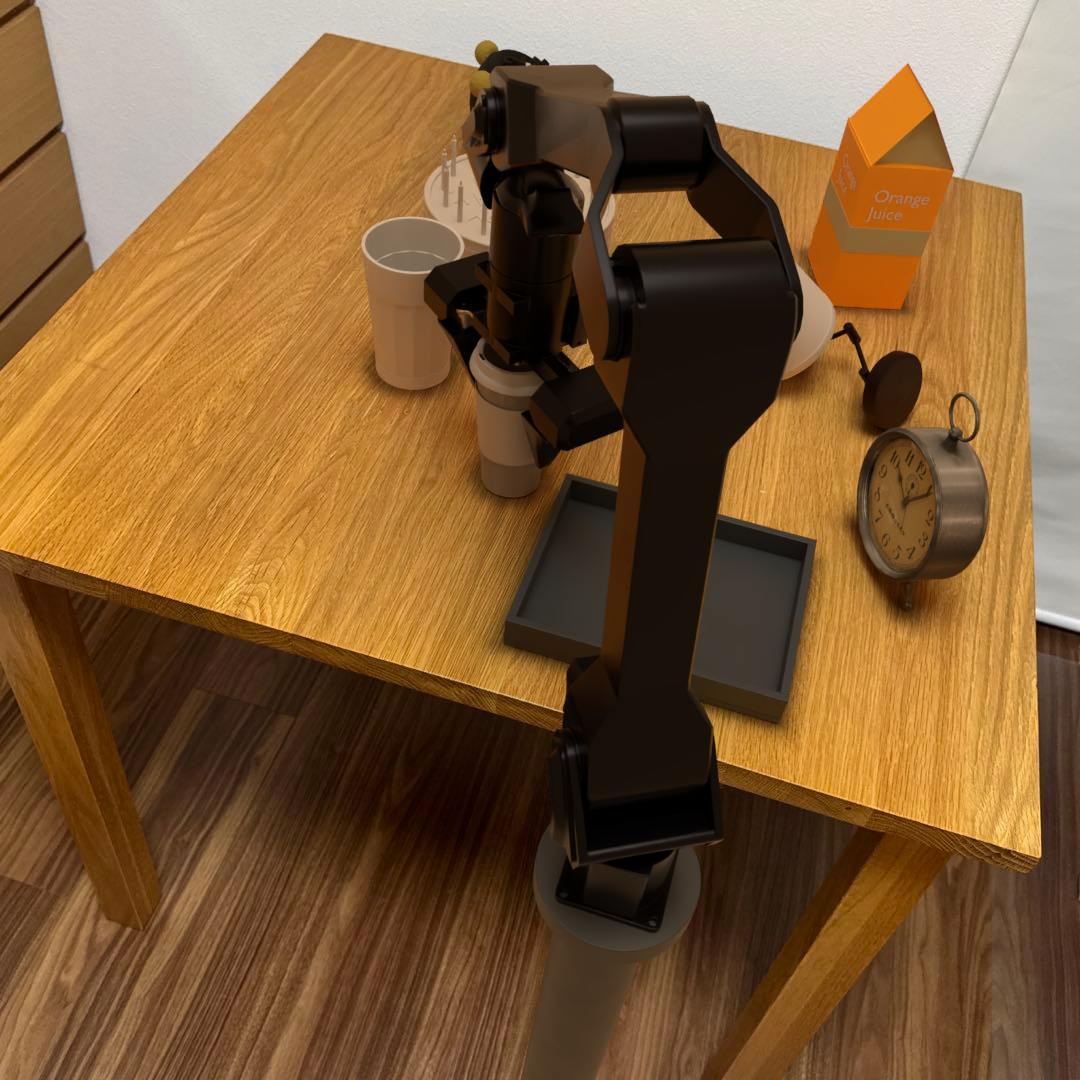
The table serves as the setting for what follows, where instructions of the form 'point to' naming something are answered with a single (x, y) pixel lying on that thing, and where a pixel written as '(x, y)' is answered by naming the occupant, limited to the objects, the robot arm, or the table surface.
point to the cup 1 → (407, 298)
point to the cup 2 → (504, 422)
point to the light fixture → (890, 378)
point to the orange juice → (881, 198)
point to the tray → (728, 610)
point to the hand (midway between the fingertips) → (515, 433)
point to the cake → (481, 203)
